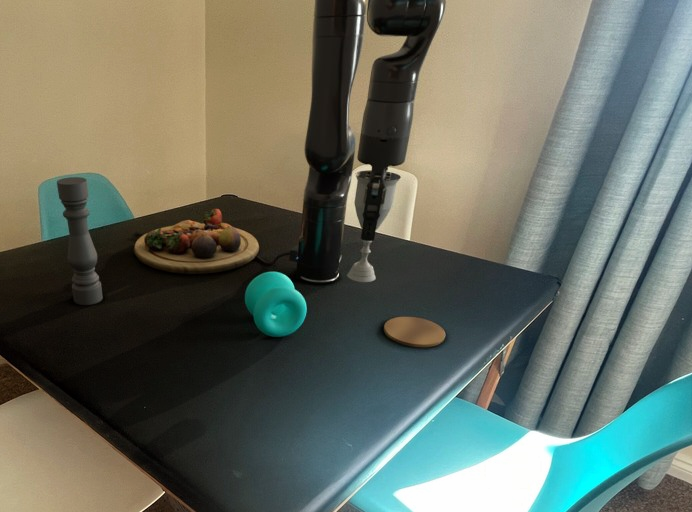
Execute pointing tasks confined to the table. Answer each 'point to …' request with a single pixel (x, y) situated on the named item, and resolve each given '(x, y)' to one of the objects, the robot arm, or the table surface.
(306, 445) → the table surface
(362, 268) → the chalice
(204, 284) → the table surface
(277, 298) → the turquoise spool
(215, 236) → the wooden plate
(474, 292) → the table surface
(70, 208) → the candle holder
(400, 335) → the coaster
